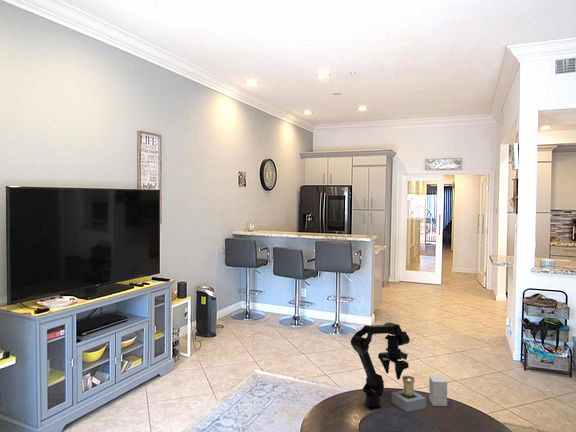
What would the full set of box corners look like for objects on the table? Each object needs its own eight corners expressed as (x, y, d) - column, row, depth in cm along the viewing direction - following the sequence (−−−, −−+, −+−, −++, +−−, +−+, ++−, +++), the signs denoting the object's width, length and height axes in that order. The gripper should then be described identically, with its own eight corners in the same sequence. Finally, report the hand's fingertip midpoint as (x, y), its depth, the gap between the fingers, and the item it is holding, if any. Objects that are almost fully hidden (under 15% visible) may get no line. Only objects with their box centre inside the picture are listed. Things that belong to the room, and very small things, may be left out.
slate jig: (406, 412, 202) (406, 402, 202) (391, 402, 213) (391, 392, 213) (425, 408, 207) (425, 398, 207) (409, 398, 218) (409, 389, 218)
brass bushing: (407, 406, 206) (407, 380, 206) (399, 401, 211) (400, 376, 211) (416, 404, 208) (417, 379, 208) (409, 399, 214) (409, 375, 214)
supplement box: (443, 400, 216) (443, 376, 216) (447, 406, 208) (447, 381, 208) (429, 399, 216) (429, 375, 217) (432, 405, 209) (432, 381, 209)
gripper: (416, 350, 212) (416, 380, 211) (394, 340, 229) (393, 368, 229) (399, 353, 207) (399, 383, 207) (377, 342, 224) (377, 371, 224)
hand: (392, 376), depth 217 cm, fingers open, 9 cm apart
